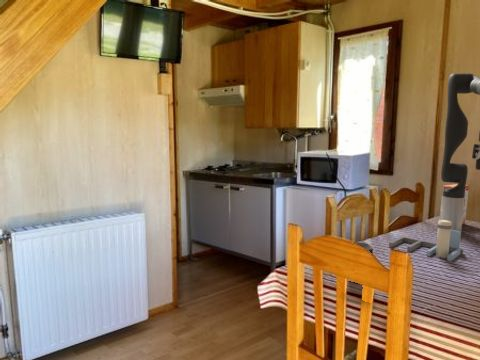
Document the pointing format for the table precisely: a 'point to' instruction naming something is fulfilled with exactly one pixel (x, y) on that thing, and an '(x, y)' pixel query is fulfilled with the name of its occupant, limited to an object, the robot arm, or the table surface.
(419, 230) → the table surface
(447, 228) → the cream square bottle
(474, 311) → the table surface
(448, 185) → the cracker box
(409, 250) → the cable comb
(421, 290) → the table surface
